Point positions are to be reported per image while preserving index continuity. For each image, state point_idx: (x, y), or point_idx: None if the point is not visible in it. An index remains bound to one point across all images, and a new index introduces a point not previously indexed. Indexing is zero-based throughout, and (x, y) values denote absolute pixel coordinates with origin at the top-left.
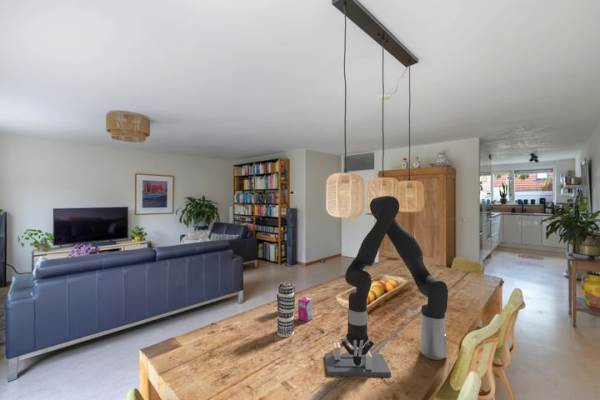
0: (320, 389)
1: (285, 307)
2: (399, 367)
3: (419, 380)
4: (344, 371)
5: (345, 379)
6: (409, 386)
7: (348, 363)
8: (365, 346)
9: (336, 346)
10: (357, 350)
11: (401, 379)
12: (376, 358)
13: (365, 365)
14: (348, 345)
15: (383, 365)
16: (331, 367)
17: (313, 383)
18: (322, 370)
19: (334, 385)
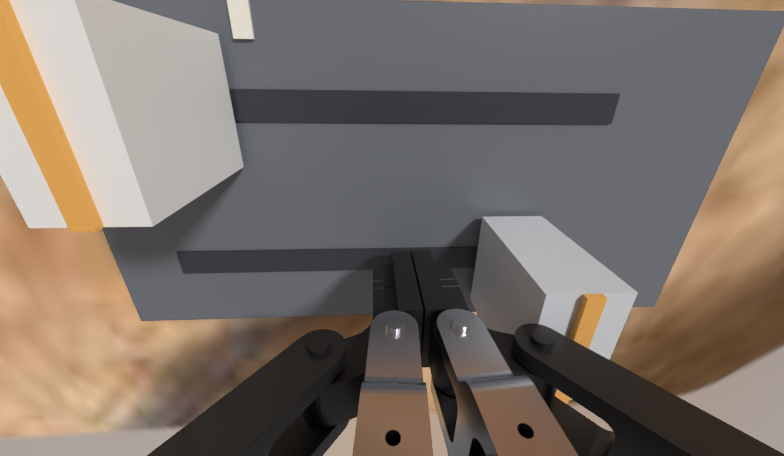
0: (142, 403)
1: None
2: (775, 188)
3: (780, 312)
4: (286, 314)
5: (299, 327)
6: (676, 357)
7: (331, 211)
8: (613, 425)
9: (54, 192)
10: (442, 355)
11: (677, 310)
12: (662, 116)
13: (480, 304)
14: (270, 430)
15: (654, 229)
16: (164, 272)
17: (79, 368)
18: (101, 245)
19: (225, 374)
